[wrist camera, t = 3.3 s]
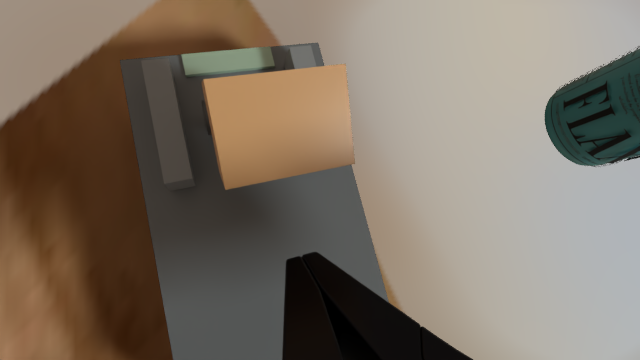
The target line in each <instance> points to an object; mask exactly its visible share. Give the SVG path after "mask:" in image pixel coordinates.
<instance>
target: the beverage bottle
mask: <svg viewBox="0 0 640 360" xmlns="http://www.w3.org/2000/svg"><path fill="white" fill-rule="evenodd" d="M627 54H628V53H627ZM623 56H624V55H623ZM580 77H581V76H580ZM545 125H546V129H547V132H548V135H549V137H550V139H551V141H552V142H553V144H554V146H555V147H556V149H557V150H558V151H559V152H560V153H561V154H562V155H563V156H564V157H566V158H567V159H568V160H570V161H572V162H574V163H576V164H579V165H587V166H595V165H602V164H606V163H614V162H617V161H619V160H623V159H626V158H628V159H627V160H630V159H634V158H639V157H640V156H638V155H640V49H638V50H636V51H634V52H631V53H630V54H628V55H626V56H624V57H622V58H620V59H618V60H616V61H614V62H612V63H610V64H608V65H606V66H604V67H602V68H600V69H598V70H596V71H594V72H593V71H592V72H591V73H590V74H588V75H585V76H584V77H582V78H580V79H579V78H578V80H576V81H575V80H574V81H573V82H572V83H570V84H567V85H566V86H565V85H564V87H562V88H561V89H559V90H558V91H556V93H555V94H554V95H553V96H552V97H551V98H550V99H549V101H548V103H547V106H546V110H545ZM634 156H636V157H634ZM630 157H632V158H630Z"/></svg>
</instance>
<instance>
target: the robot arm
mask: <svg viewBox="0 0 640 360" xmlns="http://www.w3.org/2000/svg"><path fill="white" fill-rule="evenodd" d="M282 360H473V359H471V358H470V357H468V356H466V355H465V354H463V353H461V352H460V351H458V350H456V349H455V348H454V347H452V346H450V345H449V344H448V343H446V342H445V341H443V340H442V339H440V338H439V337H437V336H436V335H434V334H433V333H431V332H430V331H428V330H427V329H426V328H424V327H420V325H419V323H417V322H416V321H414V320H413V319H411V318H410V317H409V316H407V315H406V314H404V313H403V312H402V311H400V310H399V309H397V308H396V307H394V306H393V305H392V304H390V303H389V302H387V301H386V300H385V299H383V298H382V297H380V296H379V295H378V294H376V293H375V292H373V291H372V290H370V289H369V288H368V287H366V286H365V285H363V284H362V283H361V282H359V281H358V280H356V279H355V278H354V277H352V276H351V275H349V274H348V273H346V272H345V271H344V270H342V269H341V268H339V267H338V266H337V265H335V264H334V263H332V262H331V261H329V260H328V259H327V258H325V257H324V256H322V255H321V254H320V253H318V252H311V253H307V254H304V255H302V257H301V256H296V257H293V258H289V259H287V260H286V269H285V295H284V322H283V348H282Z"/></svg>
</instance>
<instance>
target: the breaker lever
mask: <svg viewBox="0 0 640 360" xmlns="http://www.w3.org/2000/svg"><path fill="white" fill-rule="evenodd" d="M202 88H203V93H204V98H205V100H203V101H201V102H202V108H203V113H204V118H205V123H206V127H207V132H208V135H212V138H213V143H214V148H215V153H216V158H217V163H218V168H219V173H220V176H221V179H222V181H223V184H224V187H225V190H227V189H232V188H237V187H242V186H247V185H252V184H257V183H262V182H267V181H272V180H277V179H282V178H287V177H292V176H297V175H302V174H307V173H312V172H317V171H322V170H327V169H332V168H337V167H341V166H346V165H351V164H355V159H354V148H353V137H352V127H351V116H350V105H349V95H348V85H347V73H346V64H339V65H329V66H320V67H311V68H302V69H292V70H283V71H274V72H265V73H256V74H247V75H238V76H228V77H219V78H210V79H203V81H202Z"/></svg>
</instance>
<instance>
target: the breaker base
mask: <svg viewBox="0 0 640 360" xmlns="http://www.w3.org/2000/svg"><path fill="white" fill-rule="evenodd" d="M120 65H121V70H122V76H123V81H124V87H125V92H126V98H127V104H128V109H129V115H130V120H131V126H132V132H133V137H134V143H135V148H136V154H137V160H138V165H139V171H140V176H141V182H142V188H143V193H144V199H145V204H146V210H147V216H148V221H149V227H150V232H151V238H152V244H153V249H154V255H155V260H156V266H157V271H158V277H159V283H160V288H161V294H162V299H163V305H164V311H165V316H166V322H167V327H168V333H169V339H170V344H171V350H172V355H173V360H282V348H283V322H284V295H285V269H286V260H287V259H289V258H293V257H296V256H301V257H302V255H304V254H307V253H311V252H318V253H320V254H321V255H322V256H324V257H325V258H327V259H328V260H329V261H331V262H332V263H334V264H335V265H337V266H338V267H339V268H341V269H342V270H344V271H345V272H346V273H348V274H349V275H351V276H352V277H354V278H355V279H356V280H358V281H359V282H361V283H362V284H363V285H365V286H366V287H368V288H369V289H370V290H372V291H373V292H375V293H376V294H378V295H379V296H380V297H382V298H383V299H385V300H386V301H387V302H388V298H387V294H386V291H385V287H384V283H383V280H382V276H381V272H380V269H379V265H378V261H377V258H376V254H375V250H374V246H373V243H372V239H371V235H370V232H369V228H368V224H367V221H366V217H365V214H364V210H363V206H362V202H361V199H360V195H359V192H358V188H357V184H356V180H355V177H354V173H353V169H352V166H351V165H346V166H341V167H337V168H332V169H327V170H322V171H317V172H312V173H307V174H302V175H297V176H292V177H287V178H282V179H277V180H272V181H267V182H262V183H257V184H252V185H247V186H242V187H237V188H232V189H227V190H225V187H224V184H223V181H222V179H221V176H220V173H219V168H218V163H217V158H216V153H215V148H214V143H213V138H212V135H208V132H207V127H206V123H205V118H204V113H203V108H202V102H201V101H203V100H205V98H204V93H203V88H202V81H203V79H210V78H219V77H228V76H238V75H247V74H256V73H265V72H274V71H283V70H292V69H302V68H311V67H320V66H324V63H323V59H322V55H321V52H320V48H319V44H318V43H309V44H298V45H286V46H275V47H259V48H247V49H236V50H225V51H213V52H202V53H190V54H181V55H173V56H161V57H150V58H139V59H127V60H120Z"/></svg>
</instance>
